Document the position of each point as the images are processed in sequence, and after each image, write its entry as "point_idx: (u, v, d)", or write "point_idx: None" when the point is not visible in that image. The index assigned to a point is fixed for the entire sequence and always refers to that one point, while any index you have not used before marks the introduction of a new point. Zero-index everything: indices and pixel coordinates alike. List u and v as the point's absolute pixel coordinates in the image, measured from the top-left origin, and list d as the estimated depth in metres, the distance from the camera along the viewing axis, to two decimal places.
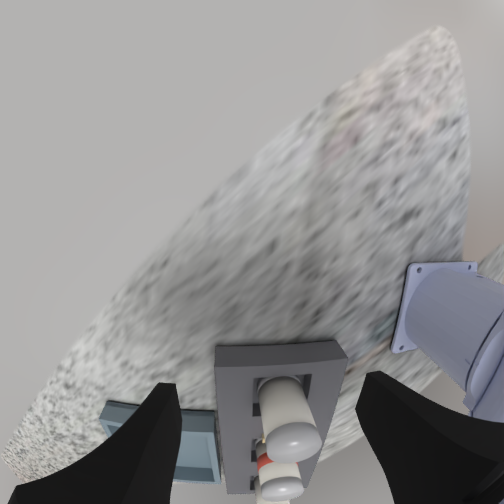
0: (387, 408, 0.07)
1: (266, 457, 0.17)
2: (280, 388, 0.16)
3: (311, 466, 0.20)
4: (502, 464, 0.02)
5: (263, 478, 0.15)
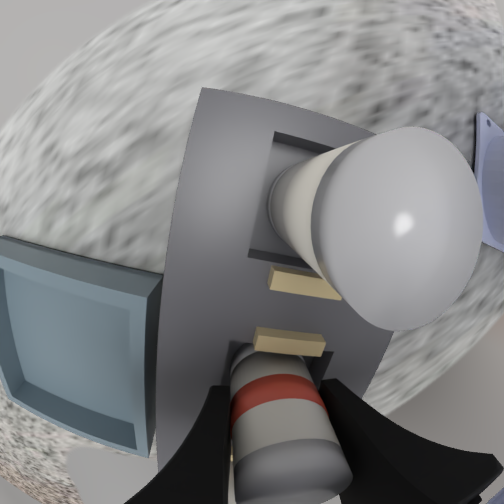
0: (337, 420, 0.07)
1: (260, 388, 0.08)
2: None
3: None
4: None
5: (246, 442, 0.06)
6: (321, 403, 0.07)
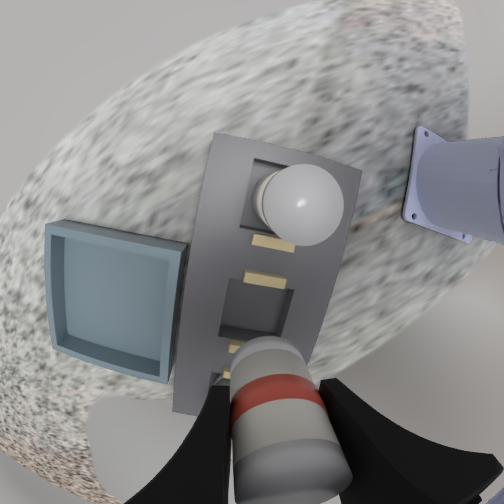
0: (338, 420, 0.07)
1: (260, 388, 0.08)
2: None
3: None
4: None
5: (246, 442, 0.06)
6: (321, 403, 0.07)
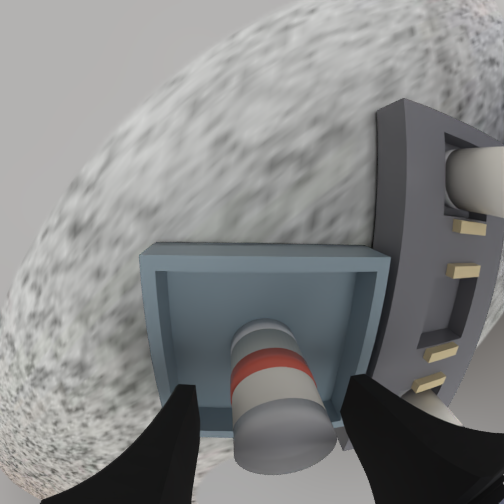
0: (370, 413, 0.07)
1: (256, 359, 0.09)
2: (475, 148, 0.09)
3: (466, 363, 0.13)
4: (484, 479, 0.02)
5: (244, 403, 0.08)
6: (309, 373, 0.09)
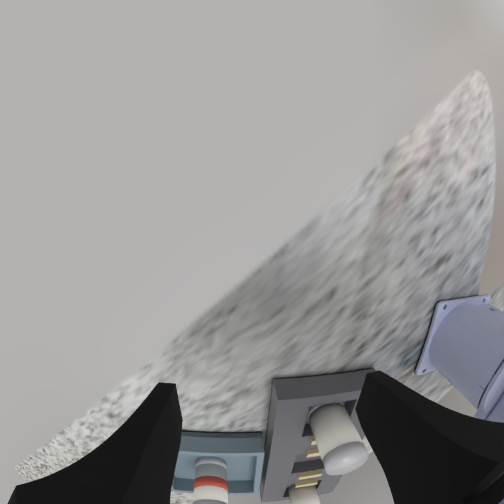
0: (387, 408, 0.07)
1: (202, 480, 0.18)
2: (332, 413, 0.17)
3: None
4: (502, 464, 0.02)
5: (196, 496, 0.16)
6: (223, 487, 0.17)
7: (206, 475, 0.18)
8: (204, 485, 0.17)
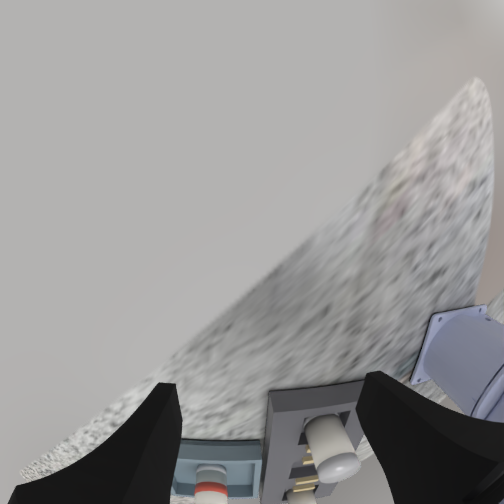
0: (387, 408, 0.07)
1: (202, 485, 0.18)
2: (326, 424, 0.17)
3: None
4: (502, 464, 0.02)
5: (197, 501, 0.16)
6: (222, 492, 0.18)
7: (206, 481, 0.19)
8: (204, 490, 0.17)
